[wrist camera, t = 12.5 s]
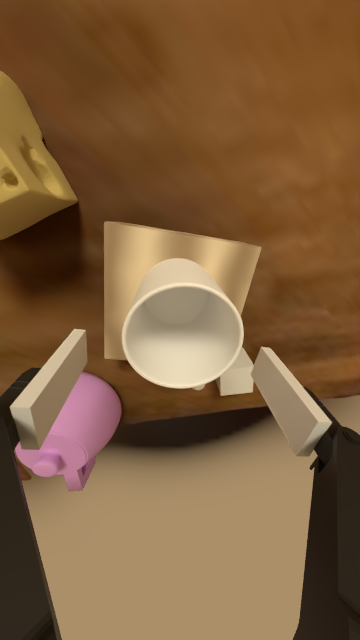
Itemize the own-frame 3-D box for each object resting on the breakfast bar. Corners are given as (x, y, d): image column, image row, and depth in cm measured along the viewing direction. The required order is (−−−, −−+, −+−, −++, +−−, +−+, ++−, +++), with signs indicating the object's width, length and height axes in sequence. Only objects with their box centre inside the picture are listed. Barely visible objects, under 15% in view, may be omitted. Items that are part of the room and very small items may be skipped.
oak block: (115, 335, 32) (104, 358, 26) (117, 221, 25) (104, 221, 20) (215, 345, 34) (224, 369, 28) (242, 242, 27) (261, 247, 21)
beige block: (214, 374, 36) (220, 395, 32) (213, 350, 34) (220, 370, 30) (241, 370, 36) (252, 392, 32) (242, 347, 34) (254, 366, 30)
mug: (223, 343, 26) (253, 409, 17) (160, 357, 27) (157, 429, 17) (206, 247, 21) (236, 267, 12) (129, 267, 22) (100, 302, 12)
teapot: (136, 431, 42) (126, 505, 31) (62, 442, 42) (25, 519, 31) (103, 340, 32) (70, 400, 21) (6, 355, 32) (-75, 422, 21)
